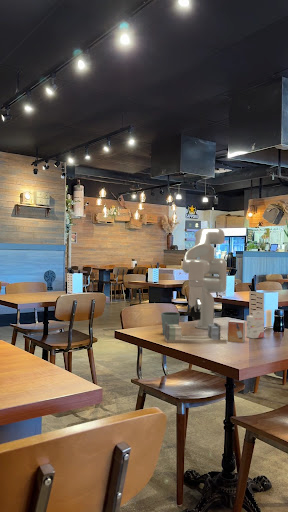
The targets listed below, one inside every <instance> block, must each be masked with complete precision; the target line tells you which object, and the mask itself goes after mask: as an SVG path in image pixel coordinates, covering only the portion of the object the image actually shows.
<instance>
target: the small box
mask: <svg viewBox="0 0 288 512" xmlns="http://www.w3.org/2000/svg"><path fill="white" fill-rule="evenodd" d="M227 323H228V324H227V342H232V343H240V344H243V343H244V342H245V338H246V335H245V334H246V321H245V320H235V319H234V320H233V319H230V320H229V321H227Z"/></svg>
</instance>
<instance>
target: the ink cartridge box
mask: <svg viewBox="0 0 288 512" xmlns="http://www.w3.org/2000/svg"><path fill="white" fill-rule="evenodd" d="M264 337H265V311H264V310H254V311H252V315H246V338H249V339H259V338H260V339H261V338H264Z"/></svg>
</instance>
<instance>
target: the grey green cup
mask: <svg viewBox="0 0 288 512" xmlns="http://www.w3.org/2000/svg"><path fill="white" fill-rule="evenodd" d="M180 314H181V313H180V312H176V311H175V312H174V311H165V312H161V314H160V316H161V317H160V318H161V322H162V323H161V328H162V329H161V330H162V336H165V323H168V325H179V326H180V317H181V315H180Z"/></svg>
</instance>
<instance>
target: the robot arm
mask: <svg viewBox="0 0 288 512" xmlns="http://www.w3.org/2000/svg"><path fill="white" fill-rule="evenodd" d="M194 233H195V234H194V238H195V240H194V241H195V242H194V245H193V246H192V247H190V248H189V249H187V251H186V252H185V253H184V255H183V260H182V264H181V267H182V272H183V273H185V274H188V288H189V290H188V305H189V307H190V308H189V309H190V314H189V317H190V318H193V319H194V320H196V321H197V323H196V324H195V326H194V327H195V328H197V329H200V330H208V325H214V313H215V309H214V308H215V300H214V299H215V298H214V296H213V295H212V294H211V293H225V292H226V289H227V271H228V270H227V261H226V259H224V258H215V248H214V247H213V246H212V245H223V244H224V242H225V237H226V235H225V232H224V230H223V229H221V228H216V227H215V228H214V227H203V228H200V229H198V230H196V231H195V232H194ZM196 258H197V259H196ZM198 258H199V259H198ZM207 274H209V275H207ZM212 275H213V276H212ZM214 275H218V276H214Z"/></svg>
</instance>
